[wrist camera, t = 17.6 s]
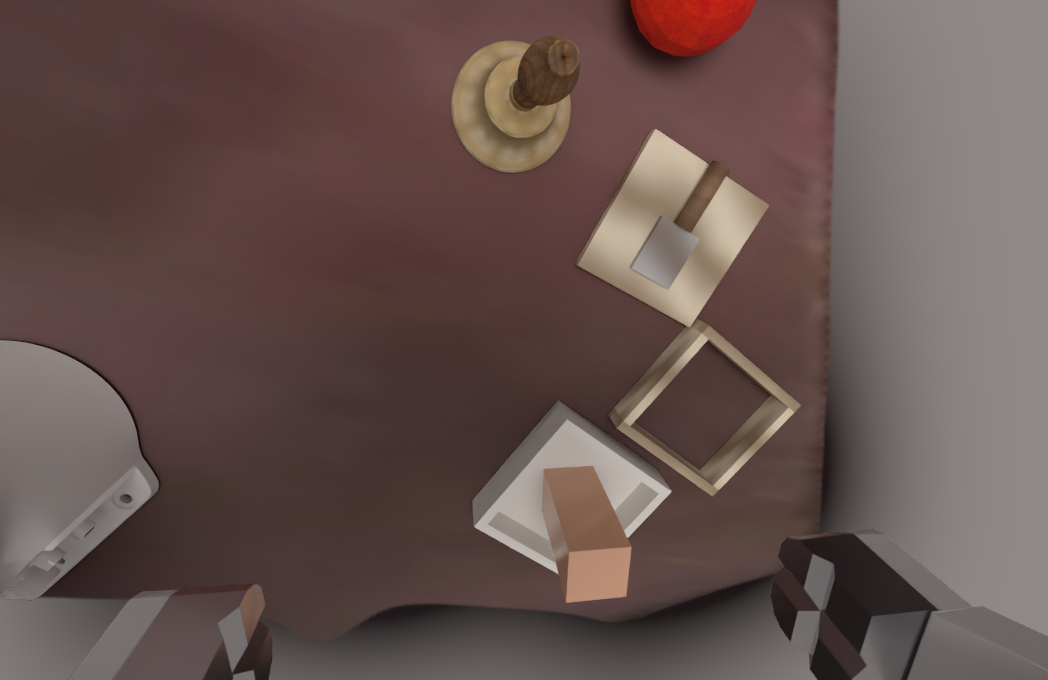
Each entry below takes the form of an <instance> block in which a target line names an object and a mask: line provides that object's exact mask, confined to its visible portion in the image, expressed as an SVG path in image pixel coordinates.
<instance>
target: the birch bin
mask: <svg viewBox="0 0 1048 680" xmlns="http://www.w3.org/2000/svg"><path fill="white" fill-rule="evenodd" d="M707 341H708V342H709V343H711V344H712V345H713V346H714V347H715V348H716V349H718V350H719V351H720V352H721V353H722V354H723V355H725V356H726V357H727V358H728V359H729V360H730V361H732V362H733V363H734V364H735V365H736V366H737V367H739V368H740V369H741V370H742V371H743V372H744V373H746V374H747V375H748V376H749V377H750V378H751V379H753V380H754V381H755V382H756V383H757V384H759V385H760V386H761V387H762V388H763V389H764V390H766V391H767V392H768V393H769V394H770V395H771V396H770V397H769V398H768V399H767V400H766V401H765V402H764V403H763V404H762V405H761V406H760V407H759V408H758V409H757V410H756V411H755V412H754V413H753V415H752V416H751V417H750V418H749V419H748V420H747V421H746V422H745V423H744V424H743V425H742V426H741V427H740V428H739V429H738V430H737V431H736V432H735V433H734V434H733V435H732V437H731V438H730V439H729V440H728V441H727V442H726V443H725V444H724V445H723V446H722V447H721V448H720V449H719V450H718V451H717V452H716V453H715V454H714V455H713V456H712V457H711V459H710V460H709V461H708V462H707V463H706V464H705V465H704V466H703V467H702V468H701V469H700V470H699V469H698V468H696V467H695V466H694V465H692V464H691V463H689V462H688V461H687V460H685V459H684V458H683V457H681V456H680V455H678V454H677V453H676V452H674V451H673V450H672V449H670V448H669V447H668V446H666V445H665V444H663V443H662V442H661V441H659V440H658V439H657V438H655V437H654V436H652V435H651V434H650V433H648V432H647V431H646V430H644V429H643V428H641V427H640V426H639V425H637V424H636V423H635V422H634V421H635V420H636V419H637V418H638V417H639V416H640V415H641V414H642V413H643V412H644V410H645V409H646V408H647V407H648V406H649V405H650V404H651V403H652V402H653V400H654V399H655V398H656V397H657V396H658V395H659V394H660V393H661V392H662V390H663V389H664V388H665V387H666V386H667V385H668V384H669V383H670V382H671V380H672V379H673V378H674V377H675V376H676V375H677V374H678V373H679V372H680V370H681V369H682V368H683V367H684V366H685V365H686V364H687V363H688V362H689V360H690V359H691V358H692V357H693V356H694V355H695V354H696V353H697V352H698V350H699V349H700V348H701V347H702V346H703V345H704V344H705V343H706V342H707ZM800 406H801V405H800V404H799V403H798V402H796V401H795V400H794V399H793V398H792V397H791V396H790V395H788V394H787V393H786V392H785V391H784V390H783V389H781V388H780V387H779V386H778V385H777V384H776V383H775V382H773V381H772V380H771V379H770V378H769V377H768V376H767V375H765V374H764V373H763V372H762V371H761V370H760V369H758V368H757V367H756V366H755V365H754V364H753V363H752V362H750V361H749V360H748V359H747V358H746V357H745V356H744V355H742V354H741V353H740V352H739V351H738V350H737V349H735V348H734V347H733V346H732V345H731V344H730V343H729V342H727V341H726V340H725V339H724V338H723V337H722V336H721V335H719V334H718V333H717V332H716V331H715V330H714V329H712V328H711V327H710V326H709V325H707V324H706V323H704V322H702V321H701V320H699V319H697V318H696V319H695V320H694V322H693V324H692V325H691V327H688V326H686V327H685V328H684V329H683V330H682V331H681V332H680V334H679V335H678V336H677V337H676V338H675V339H674V340H673V342H672V343H671V344H670V345H669V346H668V347H667V348H666V349H665V351H664V352H663V353H662V354H661V355H660V356H659V357H658V358H657V360H656V361H655V362H654V363H653V364H652V365H651V366H650V367H649V369H648V370H647V371H646V372H645V373H644V374H643V375H642V377H641V378H640V379H639V380H638V381H637V382H636V383H635V384H634V386H633V387H632V388H631V389H630V390H629V391H628V392H627V393H626V395H625V396H624V397H623V398H622V399H621V400H620V401H619V402H618V404H617V405H616V406H615V407H614V408H613V409H612V410H611V412H610V413H609V414H608V415H609V417H610V418H611V420H612V421H613V423H614V425H615V426H616V428H617V429H619V430H620V431H621V432H623V433H624V434H626V435H627V436H628V437H630V438H631V439H633V440H634V441H635V442H637V443H638V444H640V445H641V446H642V447H644V448H645V449H647V450H648V451H649V452H651V453H652V454H654V455H655V456H656V457H658V458H659V459H661V460H662V461H663V462H665V463H666V464H668V465H669V466H670V467H672V468H673V469H675V470H676V471H677V472H679V473H680V474H682V475H683V476H684V477H686V478H687V479H689V480H690V481H692V482H693V483H694V484H696V485H697V486H699V487H700V488H701V489H703V490H704V491H706V492H707V493H708V494H710V495H711V496H714V494H715V493H716V492H717V491H718V490H719V489H720V488H721V487H722V486H723V485H724V484H725V483H726V482H727V481H728V480H729V479H730V478H731V477H732V476H733V475H734V474H735V473H736V472H737V471H738V470H739V469H740V468H741V467H742V466H743V465H744V464H745V463H746V462H747V461H748V460H749V459H750V457H751V456H752V455H753V454H754V453H755V452H756V451H757V450H758V449H759V448H760V447H761V446H762V445H763V444H764V443H765V442H766V441H767V440H768V439H769V438H770V437H771V436H772V435H773V434H774V433H775V432H776V431H777V430H778V429H779V428H780V427H781V426H782V425H783V424H784V423H785V421H786V420H787V419H788V418H789V417H790V416H791V415H792V414H793V413H794V412H795V411H796V410H797V409H798V408H799V407H800Z"/></svg>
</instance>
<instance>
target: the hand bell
mask: <svg viewBox="0 0 1048 680" xmlns="http://www.w3.org/2000/svg"><path fill="white" fill-rule="evenodd" d="M579 73H580V55H579V50H578V47H577V46H576V44H574V43H573V42H572V41H571V40H569V39H565V38H562V37H558V36H548V37H544V38H541V39H539V40H537V41H536V42H534V43H533V44H532V45H531V44H528V43H525V42H520V41H512V40H508V41H499V42H495V43H492V44H489V45H487V46H485V47H483V48H481V49H479V50H478V51H477V52H475V53H474V54H473V55H472V56H471V57H470V58H469V59H468V60H467V61H466V62H465V64H464V65H463V67H462V68H461V70H460V72H459V74H458V76H457V78H456V81H455V84H454V87H453V92H452V99H451V112H452V119H453V123H454V126H455V129H456V132H457V134H458V136H459V138H460V140H461V142H462V144H463V145H464V147H465V148H466V149H467V151H468V152H469V153H470V154H471V155H472V156H473V157H474V158H475V159H476V160H478V161H479V162H480V163H482V164H484V165H485V166H487V167H489V168H492V169H494V170H497V171H501V172H508V173H518V172H524V171H528V170H531V169H534V168H536V167H538V166H540V165H542V164H543V163H544V162H546V161H547V160H548V159H550V158H551V157H552V156H553V155H554V153H555V152H556V151H557V150H558V148H559V147H560V145H561V144H562V142H563V140H564V138H565V136H566V134H567V131H568V128H569V123H570V118H571V98H570V92H571V91H572V90H573V88H574V86H575V85H576V83H577V80H578V77H579Z"/></svg>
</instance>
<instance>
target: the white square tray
mask: <svg viewBox="0 0 1048 680" xmlns="http://www.w3.org/2000/svg"><path fill="white" fill-rule="evenodd" d="M580 466H593V467H594V469H595V471H596V473H597V475H598V477H599V480H600V482H601V484H602V486H603V488H604V490H605V492H606V494H607V496H608V498H609V501H610V503H611V505H612V507H613V509H614V511H615V513H616V515H617V517H618V519H619V522H620V524H621V526H622V528H623V530H624V532H625V534H626V536H627V538H628V537H629V536H630V535H631V534H632V533H633V532H634V531H635V530H636V529H637V528H638V527H639V526H640V524H641V523H642V522H643V521H644V520H645V519H646V518H647V517H648V516H649V515H650V514H651V513H652V512H653V511H654V510H655V509H656V508H657V507H658V506H659V504H660V503H661V502H662V501H663V500H664V499H665V498H666V497H667V496H668V495H669V494H670V493H671V492H672V491H671V490H670V488H669V487H668V485H667V484H666V482H665V481H664V480H663V478H662V477H661V475H660V474H659V472H658V471H657V469H656V468H655V467H653V466H652V465H650V464H649V463H647V462H646V461H645V460H643V459H642V458H640V457H639V456H637V455H636V454H635V453H633V452H632V451H630V450H629V449H627V448H626V447H625V446H623V445H622V444H620V443H619V442H617V441H616V440H615V439H613V438H612V437H610V436H609V435H607V434H606V433H605V432H603V431H602V430H600V429H599V428H598V427H596V426H595V425H593V424H592V423H590V422H589V421H588V420H586V419H585V418H583V417H582V416H580V415H579V414H578V413H576V412H575V411H573V410H572V409H570V408H569V407H568V406H566V405H565V404H563V403H562V402H560V401H559V400H558V401H557V402H556V403H555V404H554V405H553V407H552V408H551V409H550V410H549V411H548V412H547V414H546V415H545V416H544V417H543V418H542V419H541V421H540V422H539V423H538V424H537V425H536V426H535V428H534V429H533V430H532V431H531V432H530V433H529V435H528V436H527V437H526V438H525V439H524V440H523V442H522V443H521V444H520V445H519V446H518V447H517V449H516V450H515V451H514V452H513V453H512V454H511V456H510V457H509V458H508V459H507V460H506V461H505V463H504V464H503V465H502V466H501V467H500V468H499V470H498V471H497V472H496V473H495V474H494V475H493V477H492V478H491V479H490V480H489V481H488V482H487V484H486V485H485V486H484V487H483V488H482V489H481V491H480V492H479V493H478V494H477V495H476V496H475V498H474V499H473V500H472V503H473V520H474V527H475V528H477V529H479V530H480V531H482V532H484V533H486V534H488V535H489V536H491V537H493V538H495V539H497V540H498V541H500V542H502V543H504V544H505V545H507V546H509V547H511V548H513V549H514V550H516V551H518V552H520V553H522V554H523V555H525V556H527V557H529V558H531V559H532V560H534V561H536V562H538V563H539V564H541V565H543V566H545V567H547V568H548V569H550V570H552V571H554V572H556V573H557V574H558V570H557V566H556V562H555V558H554V554H553V551H552V547H551V543H550V539H549V535H548V531H547V528H546V524H545V520H544V516H543V512H542V502H543V473H544V469H548V468H564V467H580Z"/></svg>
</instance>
